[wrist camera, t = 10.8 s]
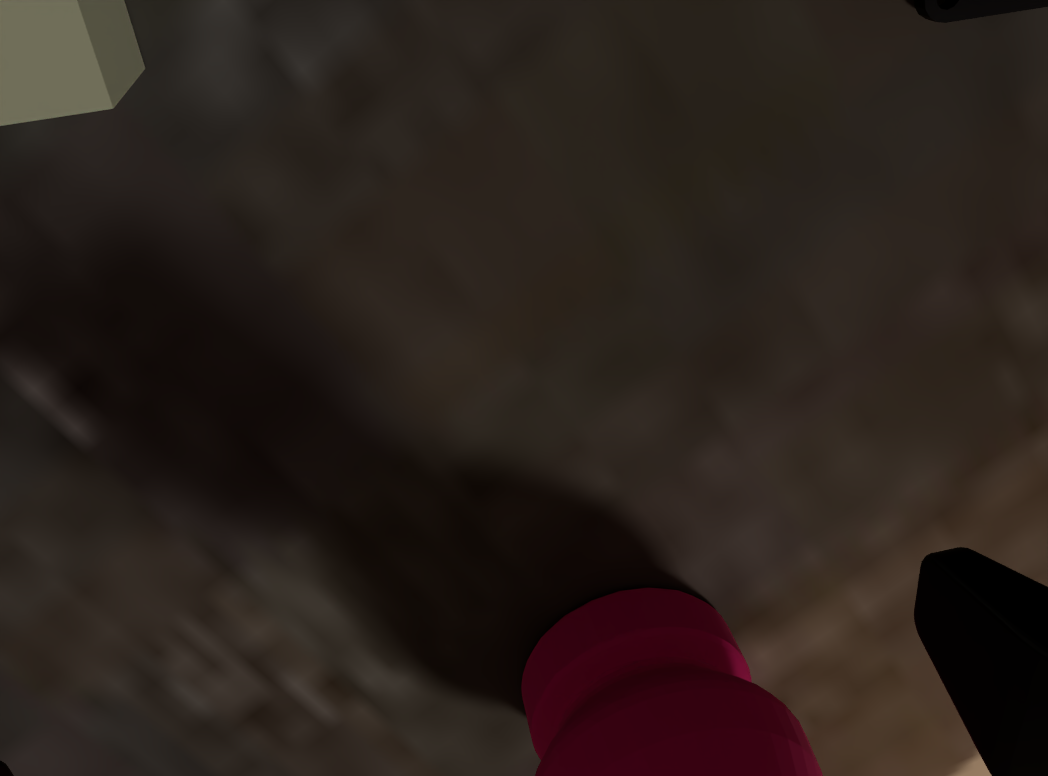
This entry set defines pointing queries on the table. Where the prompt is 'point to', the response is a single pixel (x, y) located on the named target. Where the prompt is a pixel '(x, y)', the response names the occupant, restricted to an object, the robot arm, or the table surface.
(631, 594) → the pepper mill
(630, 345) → the table surface
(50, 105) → the sage base
